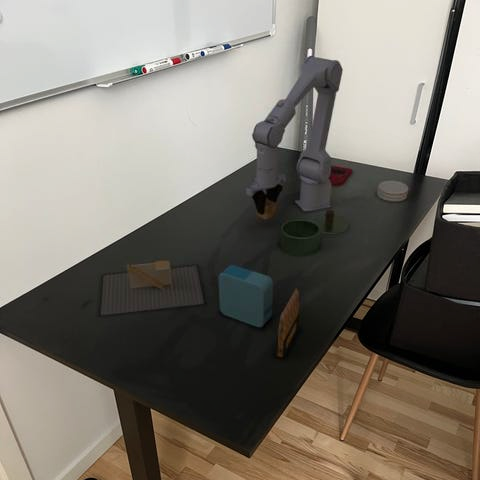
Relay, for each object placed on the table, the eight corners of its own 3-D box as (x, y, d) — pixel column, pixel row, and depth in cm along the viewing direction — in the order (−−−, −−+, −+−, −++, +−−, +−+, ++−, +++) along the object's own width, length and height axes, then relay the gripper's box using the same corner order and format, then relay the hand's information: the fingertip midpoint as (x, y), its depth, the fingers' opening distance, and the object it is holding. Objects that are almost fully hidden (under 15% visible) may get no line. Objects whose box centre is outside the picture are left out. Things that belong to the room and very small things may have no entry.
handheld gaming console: (314, 178, 179) (328, 164, 189) (314, 182, 180) (327, 167, 190) (340, 183, 176) (352, 168, 186) (340, 187, 176) (352, 171, 187)
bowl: (308, 232, 151) (310, 216, 148) (325, 251, 143) (327, 234, 140) (274, 239, 149) (275, 223, 145) (289, 258, 140) (290, 241, 137)
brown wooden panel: (290, 327, 117) (293, 285, 109) (298, 329, 116) (302, 287, 109) (275, 356, 109) (277, 313, 102) (283, 358, 109) (286, 315, 101)
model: (172, 290, 129) (169, 265, 124) (130, 294, 128) (126, 269, 123) (172, 283, 131) (169, 258, 127) (130, 287, 130) (126, 262, 125)
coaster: (377, 188, 175) (379, 178, 173) (407, 191, 173) (409, 181, 171) (375, 200, 168) (377, 190, 166) (406, 203, 166) (408, 194, 164)
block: (265, 210, 152) (265, 198, 150) (275, 215, 150) (275, 202, 148) (256, 215, 150) (256, 202, 148) (265, 219, 148) (266, 207, 145)
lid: (336, 215, 160) (338, 200, 157) (355, 232, 151) (357, 217, 148) (302, 221, 157) (303, 206, 154) (319, 239, 148) (321, 223, 145)
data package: (272, 319, 119) (273, 277, 112) (263, 329, 116) (264, 287, 109) (229, 303, 124) (228, 262, 117) (219, 313, 121) (217, 272, 114)
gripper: (273, 155, 147) (272, 198, 155) (238, 170, 139) (239, 214, 148) (292, 162, 143) (289, 206, 151) (256, 177, 135) (256, 222, 144)
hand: (265, 210), depth 149 cm, fingers closed on block, 4 cm apart
